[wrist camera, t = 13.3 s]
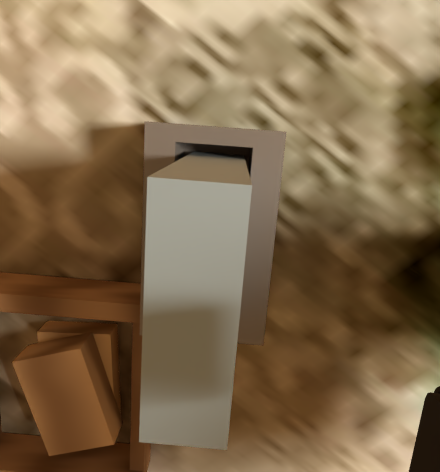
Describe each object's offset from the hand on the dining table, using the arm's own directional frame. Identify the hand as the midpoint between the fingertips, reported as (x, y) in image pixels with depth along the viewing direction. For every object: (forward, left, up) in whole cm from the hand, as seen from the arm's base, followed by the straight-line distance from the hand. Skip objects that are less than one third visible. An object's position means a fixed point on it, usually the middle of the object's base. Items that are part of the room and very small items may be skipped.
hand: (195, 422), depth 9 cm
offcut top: (+9, +12, -18) cm, 23 cm away
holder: (+1, 0, -19) cm, 19 cm away
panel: (+1, 0, -18) cm, 18 cm away
